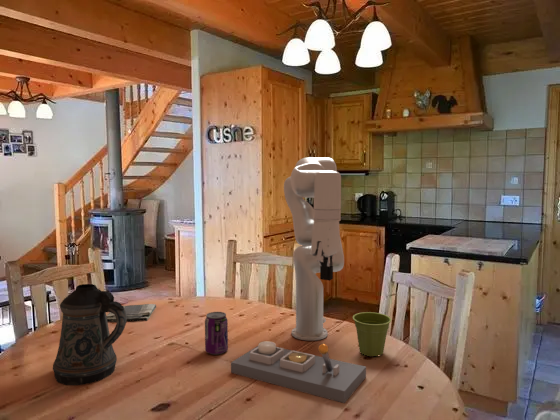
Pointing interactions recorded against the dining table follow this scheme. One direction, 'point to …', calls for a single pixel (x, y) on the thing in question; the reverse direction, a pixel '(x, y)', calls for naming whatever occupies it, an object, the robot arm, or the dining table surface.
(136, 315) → the dish towel
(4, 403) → the dining table surface
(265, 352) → the ivory button
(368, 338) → the plant pot
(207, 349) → the beverage can
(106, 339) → the beer stein
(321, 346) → the lever
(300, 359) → the brass button
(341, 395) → the switch panel
